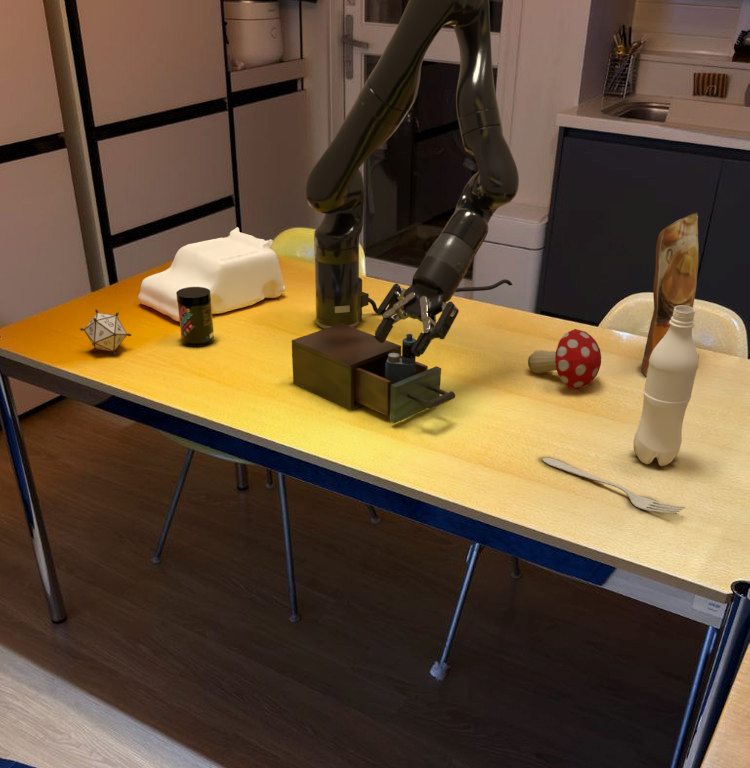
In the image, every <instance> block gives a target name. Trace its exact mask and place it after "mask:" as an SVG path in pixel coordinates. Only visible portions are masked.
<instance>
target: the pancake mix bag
mask: <svg viewBox="0 0 750 768" xmlns="http://www.w3.org/2000/svg"><path fill="white" fill-rule="evenodd" d="M698 214H699V212H697V211H696V212H693V213H691V214H689V215H687V216H685V217H682V218H680V219H678V220H676V221H674V222H672V223H671V224H669V225H667V226H666V227H664V228H663V229H662V230H661V231H660V232H659V234H658V238H657V240H656V246H655V273H654V278H653V286H652V287H653V288H652V289H653V293H652V294H653V295H652V296H653V311H652V316H651V321H650V324H649V329H648V333H647V338H646V343H645V348H644V352H643V358H642V361H641V366H640V372H641V373H642V374H643V375H644V376H646V377H647V373H648V368H649V359H650V356H651V353H652V351H653V350H654V348H655V347H656V346H657V344H658V343H659V342H660V341H661V340H662V338H663V337H664V336H665V335H666V333H667V332H668V330H669V327H670V324H669V321H670V320H671V317H672V316H673V311H674V308H675V307H676V306H689V307H692V308H694V304H695V299H696V298H695V297H696V291H697V285H698V284H697V283H698V272H699V271H698V270H699V215H698Z"/></svg>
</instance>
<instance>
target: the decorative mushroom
mask: <svg viewBox="0 0 750 768" xmlns="http://www.w3.org/2000/svg"><path fill="white" fill-rule="evenodd" d="M557 343H558V344H557V345H556V346H557V347H556V350H554V351H549V350H542V349H539V350H535V351H533V352H532V353H531V354H530V355H529V356H528V358H527V365H528V366H527V367H528V369H529V370H530V371H532V372H533V373H534V374H545V373H549V372H552V371H556V373H557V375H558V378H560V381H561V382H562V383H563V385H565V386H566V387H567V388H569V389H572V390H577V391H578V390H580V389H584V387H587V386H589V385H590V384H591V383H592V382H593V381H594V380H595V378H596V377H597V375H598V374H599V372H600V368H601V366H602V365H601V364H602V352H601V348H600V346H599V344H598V343H597V340H596V339H594V337H593V336H592V335H591V334H590V333H588V332H587V331H584V330H581V329H577V328H574V329H572V330H568V331H567V332H565V333H564V334H563V335H562V337H561V338H560V339H559V341H558V342H557Z"/></svg>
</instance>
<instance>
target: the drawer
mask: <svg viewBox="0 0 750 768" xmlns="http://www.w3.org/2000/svg"><path fill="white" fill-rule="evenodd" d="M400 358H402V354H401V355H400ZM387 359H388V355H386V356H384V357H381V358H378V359H376V360H373V361H371V362H368V363H365V364H363V365H360V366H358V367H355V368H354V401H355V402H358V403H360V404H362V406H364V407H366V408H368V409H371V410H373V411H375V412H378V413H380V414H382V415H384V416H386V417H388V416H389V422H391V423H393V424H397V423H399V422H401V421H404V420H406V419H408V418H411V417H413V416H415V415H418V414H420V413H421V412H423V411H426V410H433V409H435V408H437V407H439V406H441V405H443V404H446V403H449V402H450V401H452V400H455V398H456V394H455V392H454V391H452V390H450V391H446V390H444V389H441V380H442V367H439V366H433V367H431V368H429V365H427V364H424V363H421V362H419V361H416V365H415V368H416V370H415V373H414V374H413V376H411V377H409V378H407V379H404V380H402V381H399V382H397V383H394V384H392V385H391V381H390V380H387V379H385V364H386V362H387Z"/></svg>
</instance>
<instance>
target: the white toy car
mask: <svg viewBox="0 0 750 768" xmlns="http://www.w3.org/2000/svg"><path fill="white" fill-rule="evenodd" d="M273 243H274V239H271V238H270V239H267V240H265V239H264V238H257V237H255V236H254V235H251V234H247V233H243V232H240V228H239V227H238V226H237V227H235V228H234V229H232V230H231V231H230V232H229V235H228V236H225V237H217V238H212V239H208V240H207V239H206V240H202V241H198V242H193V243H188V244H186V245H183V246H182V247H180V248H179V249H178V250H177V252H176V254H175V255H174V258H173V261H172V263H171V265H170V266H169V267H168V268H167V269H165V270H163V271H161V272H157V273H154V274H151V275H149V276H146V277H145V278H143V280H142V281H141V284H140V291H139V293H138V296H137V300H138V302H139V303H140V304H141V305H143V306H144V305H145V306H147V307H150V308H152V309H154V310H155V311H157V312H158V313H160V314H163V315H165V316H168V317H170V318H171V319H172V320H173V321H176V322H179V323H180V321H179V312H178V303H177V295H176V292H177V291H178V290H180V289H183V288H187V287H203V288H207V289H209V290H210V294H211V307H212V315H216V314H217V315H218V314H223V313H227V312H230V311H234V310H237V309H242V308H245V307H248V306H252V305H254V304H256V303H258V302H260V301H263V300H264V299H275V298H278V297H280V296H281V295H282V293H284V292H285V291H286V286H285V283H284V278H283V274H282V270H281V265H280V260H279V258H278V255H277V253H276V252H275V251H274V250H273V249H272V245H273Z"/></svg>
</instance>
